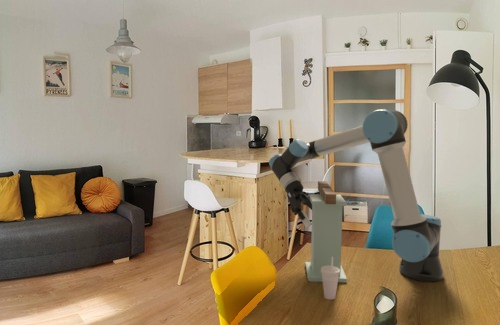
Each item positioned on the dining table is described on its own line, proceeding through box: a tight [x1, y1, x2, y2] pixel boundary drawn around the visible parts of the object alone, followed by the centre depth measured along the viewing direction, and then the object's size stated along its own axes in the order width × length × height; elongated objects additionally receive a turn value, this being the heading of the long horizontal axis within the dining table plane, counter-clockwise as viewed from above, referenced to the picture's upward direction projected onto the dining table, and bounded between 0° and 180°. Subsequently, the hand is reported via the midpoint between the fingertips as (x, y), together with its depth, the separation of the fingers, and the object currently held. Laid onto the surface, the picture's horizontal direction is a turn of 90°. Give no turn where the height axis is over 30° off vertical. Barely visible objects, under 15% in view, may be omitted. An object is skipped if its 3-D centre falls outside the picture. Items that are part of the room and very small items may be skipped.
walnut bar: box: [317, 180, 337, 204], centre depth 132 cm, size 26×4×4 cm, turn 175°
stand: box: [305, 193, 348, 284], centre depth 131 cm, size 14×14×30 cm
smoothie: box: [321, 257, 340, 300], centre depth 115 cm, size 6×6×14 cm
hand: (318, 226), depth 138 cm, fingers open, 13 cm apart
